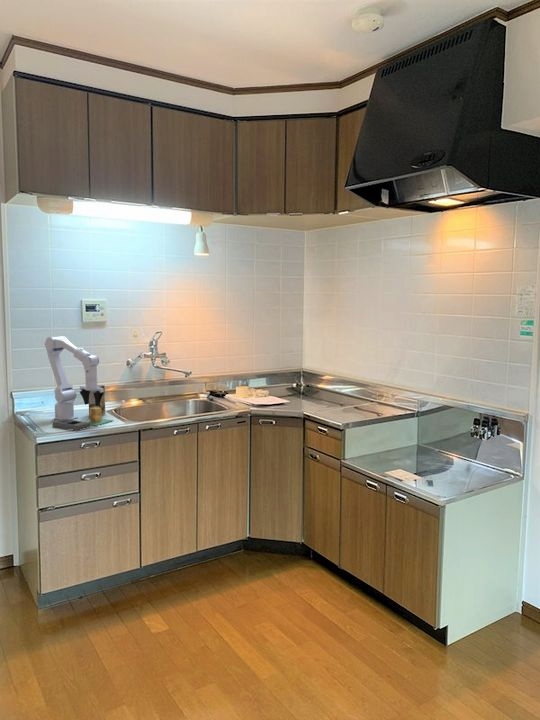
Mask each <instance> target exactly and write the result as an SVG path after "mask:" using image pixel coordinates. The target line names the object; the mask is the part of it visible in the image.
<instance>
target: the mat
mask: <svg viewBox="0 0 540 720" xmlns="http://www.w3.org/2000/svg"><path fill="white" fill-rule="evenodd" d="M82 421H83V422H90V419H87V420H82ZM112 421H113V422H114V420H113V419H106V418H102V421H100V422H97V423H94V422H90V426H91V425H92V427H99V426H98V425H100V426H103V425H106V424H110V423H113V422H112ZM109 422H110V423H109ZM102 424H103V425H102Z"/></svg>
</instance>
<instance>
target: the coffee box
mask: <svg viewBox="0 0 540 720" xmlns="http://www.w3.org/2000/svg"><path fill="white" fill-rule="evenodd" d="M97 387H100V388H104V394H103V396H102V398H101V402H100V405H99V406H96V404H95V397H94V394H93V393H95V391H90V394H89V404H88V417H89V418H90V408H94V407H99V408H101V416H102V417H103V416H105V415H106V393H105V392H106V391H105V385H98V384H97Z"/></svg>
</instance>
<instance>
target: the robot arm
mask: <svg viewBox="0 0 540 720" xmlns="http://www.w3.org/2000/svg"><path fill="white" fill-rule="evenodd" d="M44 346H45V350H46V353H47V357H48V361H49V363H50V367H51V369H52V374H53V376H54V379H55V382H56V385H57V386H56V387H55V389H54V398H55V400H56V403H54V418H53V419H54V420H57V421H59V420H62V419H70V420H76V419H78V416H75V411H74V410H75V408H74V402H75V401H76V398H77V391H76V390H75V388H74V385H72V384H70V383H69V382H68V379H67V376H66V373H65V370H64V369H65V368H64V366H63V363H62V360H61V356H60V354H61V353H62V352H63V350H64V349H65V350H66V351H68V352H70V353H72V354H73V356H74V358H76V359H77V360H78V361H80V362H81V364H82V365H83V370H84V373H85V377H84V378H85V385H81V386H79V394H80V395H81V398H82V400H83V403H84V405H89V394H90V391H95V393H93V394H94V397H95V404H96V406H99V405H100V402H101V398H102V396H103V394H104V388H100V387H97V385H98V368H97V367H98V365H99V364H100V359H99V357H98V356H97V355H96V354H91V353H90V352H88V351H86V350H85V348H83V347H77V346H75V345H74V344H73V343H72V342H70V341H69V339H68V338H67V337H66V336H65V335H61V336H48V337H47V338H46V339H45V341H44Z"/></svg>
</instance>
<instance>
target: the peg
mask: <svg viewBox="0 0 540 720" xmlns="http://www.w3.org/2000/svg"><path fill="white" fill-rule="evenodd" d="M102 417H103V416H101V408H99V407H94V408H90V417H89V420H90V422H94V423H97V422H100V421H102V419H103V418H102Z"/></svg>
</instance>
